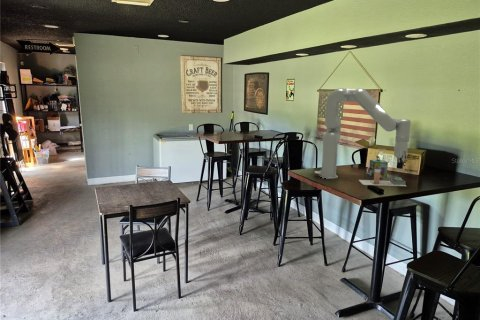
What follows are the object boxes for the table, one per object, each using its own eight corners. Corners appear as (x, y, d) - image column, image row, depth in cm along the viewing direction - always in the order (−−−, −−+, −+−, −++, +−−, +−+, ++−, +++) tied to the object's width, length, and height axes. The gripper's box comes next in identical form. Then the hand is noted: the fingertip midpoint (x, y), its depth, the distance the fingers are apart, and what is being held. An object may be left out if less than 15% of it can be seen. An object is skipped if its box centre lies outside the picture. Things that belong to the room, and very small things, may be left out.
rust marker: (374, 183, 204) (375, 169, 203) (372, 182, 208) (374, 168, 206) (379, 184, 204) (381, 170, 202) (378, 182, 207) (379, 168, 206)
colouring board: (363, 185, 203) (363, 181, 202) (358, 181, 215) (358, 176, 214) (406, 187, 200) (407, 182, 200) (399, 182, 212) (400, 178, 212)
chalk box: (386, 178, 221) (388, 157, 218) (373, 178, 221) (375, 157, 219) (381, 175, 230) (383, 154, 227) (368, 175, 231) (370, 154, 228)
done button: (395, 182, 204) (395, 178, 204) (392, 180, 209) (393, 177, 208) (402, 182, 204) (403, 179, 203) (400, 180, 208) (400, 177, 208)
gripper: (391, 137, 209) (389, 165, 212) (400, 140, 194) (397, 171, 198) (403, 137, 208) (401, 166, 211) (413, 141, 193) (410, 171, 197)
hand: (399, 168), depth 204 cm, fingers closed
